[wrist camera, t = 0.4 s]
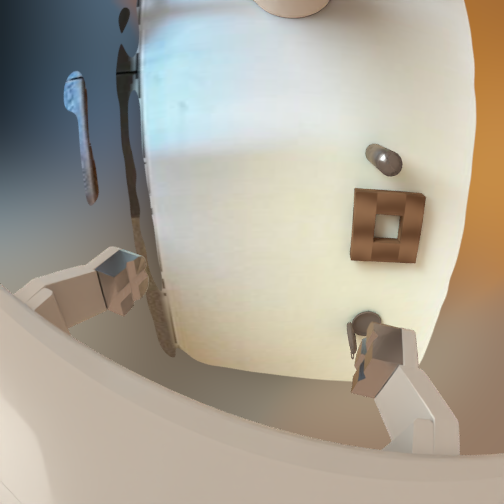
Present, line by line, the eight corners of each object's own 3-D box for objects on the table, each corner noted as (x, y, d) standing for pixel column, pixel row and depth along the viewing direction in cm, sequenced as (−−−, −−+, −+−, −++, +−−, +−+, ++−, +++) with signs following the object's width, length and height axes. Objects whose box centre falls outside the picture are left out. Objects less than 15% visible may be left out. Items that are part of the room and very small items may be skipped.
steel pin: (365, 143, 46) (378, 150, 35) (384, 144, 45) (402, 152, 35) (365, 162, 47) (377, 175, 37) (384, 164, 47) (401, 177, 36)
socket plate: (354, 188, 50) (356, 191, 48) (421, 193, 47) (425, 196, 45) (349, 254, 55) (350, 260, 53) (412, 257, 53) (415, 263, 50)
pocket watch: (386, 320, 60) (393, 351, 51) (359, 341, 64) (362, 373, 55) (362, 300, 59) (366, 331, 50) (335, 324, 63) (335, 355, 54)
